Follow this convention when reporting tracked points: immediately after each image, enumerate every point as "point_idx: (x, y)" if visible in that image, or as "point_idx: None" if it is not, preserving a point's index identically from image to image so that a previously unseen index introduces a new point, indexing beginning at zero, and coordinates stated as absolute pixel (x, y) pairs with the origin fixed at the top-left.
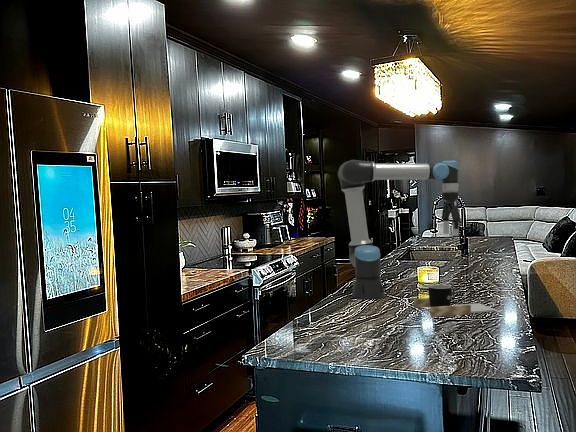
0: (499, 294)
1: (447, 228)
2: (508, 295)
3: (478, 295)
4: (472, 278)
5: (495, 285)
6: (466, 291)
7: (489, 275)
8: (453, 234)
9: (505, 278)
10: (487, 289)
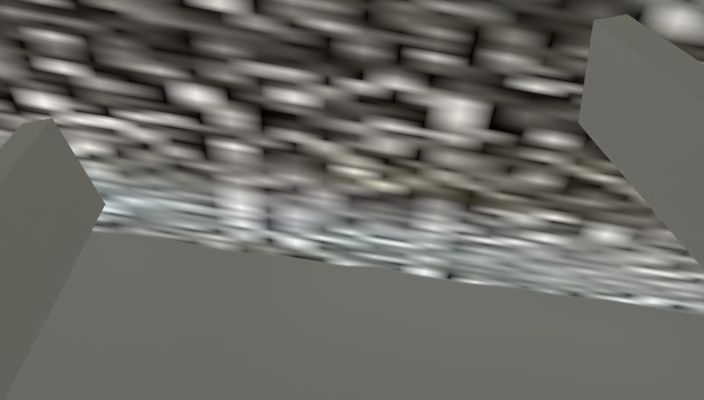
0: (116, 161)
1: (638, 153)
2: (98, 192)
3: (52, 54)
4: None
5: (377, 189)
6: (176, 6)
7: None
8: (12, 144)
9: (561, 258)
10: (258, 134)
